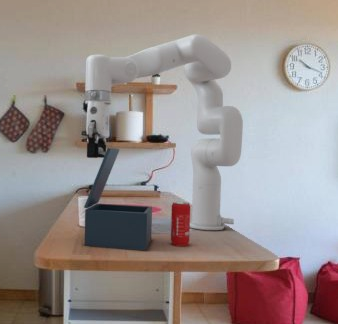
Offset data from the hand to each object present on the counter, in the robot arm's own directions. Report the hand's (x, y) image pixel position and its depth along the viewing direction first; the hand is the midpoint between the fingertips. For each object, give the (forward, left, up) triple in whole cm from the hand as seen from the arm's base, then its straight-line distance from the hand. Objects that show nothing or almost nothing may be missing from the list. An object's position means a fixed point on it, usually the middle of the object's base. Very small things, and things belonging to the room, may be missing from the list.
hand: (96, 157), depth 113 cm
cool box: (-7, 0, -24) cm, 25 cm away
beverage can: (-24, -4, -25) cm, 35 cm away
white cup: (+8, -22, -25) cm, 34 cm away
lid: (-2, 0, -6) cm, 6 cm away
